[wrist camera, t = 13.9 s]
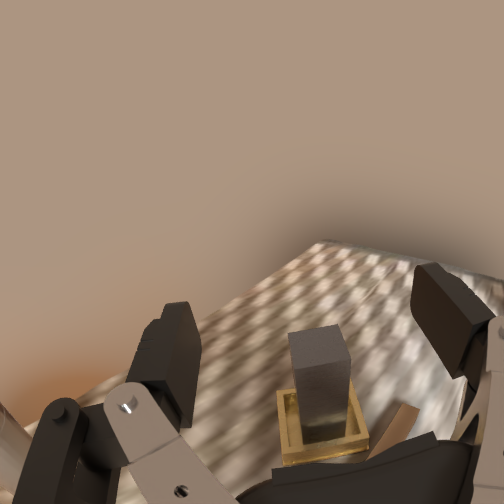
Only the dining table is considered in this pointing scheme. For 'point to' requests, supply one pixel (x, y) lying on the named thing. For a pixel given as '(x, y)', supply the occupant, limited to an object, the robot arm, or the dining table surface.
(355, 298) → the dining table surface
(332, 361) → the stop bar
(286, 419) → the keeper
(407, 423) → the door edge strip
